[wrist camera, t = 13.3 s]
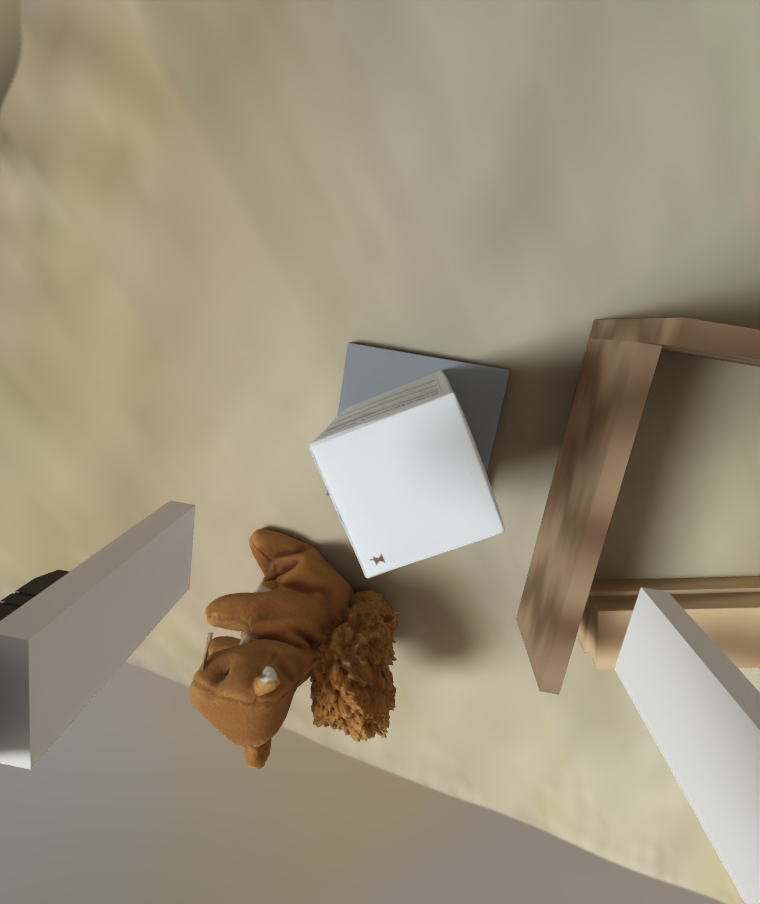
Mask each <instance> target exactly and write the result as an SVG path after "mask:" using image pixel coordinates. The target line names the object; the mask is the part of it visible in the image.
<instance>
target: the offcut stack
mask: <svg viewBox="0 0 760 904" xmlns="http://www.w3.org/2000/svg"><path fill="white" fill-rule="evenodd" d="M641 587H644V588H649V589H655V590H660V591H665V592H668V593H669V594H670V595H671V596H672V597H673V598H674V599H675V600H676V601H677V602H678V604H679V605H680V606H681V607H682V608H683V609H684V610H685V611H686V612H687V613H688V614H689V616H690V617H691V618H692V619H693V620H694V621H695V622H696V623H697V624H698V625H699V627H700V628H701V629H702V630H703V631H704V632H705V633H706V634H707V635H708V636H709V637H710V639H711V640H712V641H713V642H714V643H715V644H716V645H717V646H718V647H719V648H720V650H721V651H722V652H723V653H724V654H725V655H726V656H727V657H728V658H729V659H730V660H731V662H732V663H733V664H734V665H735V666H736V667H737V668H760V576H746V577H710V578H675V579H639V580H604V581H593V582H592V585H591V588H590V592H589V595H588V598H587V602H586V605H585V609H584V612H583V615H582V619H581V622H580V625H579V629H578V641H579V643H580V645H581V647H582V649H583V651H584V653H588V654H589V656H590V658H591V660H592V662H593V664H594V666H595V668H596V670H615V669H614V668H615V665H616V662H617V659H618V656H619V653H620V650H621V647H622V644H623V641H624V638H625V635H626V631H627V628H628V625H629V622H630V619H631V616H632V613H633V610H634V607H635V604H636V601H637V598H638V595H639V592H640V589H641Z"/></svg>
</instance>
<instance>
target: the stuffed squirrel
mask: <svg viewBox="0 0 760 904" xmlns="http://www.w3.org/2000/svg"><path fill="white" fill-rule="evenodd" d="M249 543H250V548H251V550H252V553H253V555H254V557H255V559H256V560H257V563H258V565H259V566H260V568H261V569H262V571H263V573H264V575H265V577H264V579H263V581H262V582H261V583H260V584H259V586H258V587H257V589H256V592H255V593H235V594H229V595H225V596H222V597H219V598H218V599H216V600H214V601H213V602H212V603H210V604H209V605H208V606H207V608H206V611H205V613H206V615H207V621H208V623H209V624H211V625H212V626H215V627H220V628H224V629H229V630H236V631H242V632H241V639H237V638H234V637H229V636H221V637H216V638H214V639H212V637H213V633H208V637H207V643H206V649H205V654H204V658H203V662H202V665H201V667H200V669H199V670H198V671H197V672H196V673H195V675H194V677H193V682H192V683H191V685H190V692H189V697H190V700H191V703H192V704H193V706H194V707H195V708H196V709H197V710H198V711H199V712H200V713H201V714H202V715H203V716H204V717H205V718H206V719H207V720H208V721H209V722H210V723H211V724H212V725H213V726H214V727H215V728H216V729H217V730H218V731H219V732H221V733H222V734H223V735H225V736H226V737H227V738H228V739H229V740H230V741H232V742H233V743H234V744H236V745H238V746H241V747H245V753H244V758H245V761H246V763H247V765H248V766H249V767H250V768H251V769H260V768H262V767H263V766H264V765H265V761H266V760H267V758H268V756H269V754H270V747H271V738H272V737H273V736H274V735H275V734H276V733H277V732H278V730H279V728H280V727H281V725H282V724H283V722H284V720H285V718H286V716H287V713H288V710H289V708H290V705H291V701H292V698H293V695H294V693H295V691H296V689H297V687H298V686H300V685H301V684H302V683H303V682H305V681H306V680H307V679H308V678H309V677H311V679H310V681H311V682H312V681H313V682H312V685H311V697H310V698H311V699H312V700H313V703H312V706H311V711H312V712H313V717H314V722H313V724H314V725H316V726H317V727H320V726H321V725H324V727H325V726H326V727H327V726H329V725H330V727H332V729H337V728H338V730H339V729H340V730H341V729H343V730H344V733H345V735H347V734H348V735H351V737H352V738H353V739H354V740H355V741H357V742H359V741H360V739H362V740H365V741H366V740H367V739H370V738H374V737H375V734H376V733H377V734H378V735H380V736H381V738H383V737H384V738H386V734H387V732H388V731H387V730H386V729H387V728H389V718H390V716H389V710H394V708H395V707H396V706H395V698H394V696H395V693H396V688H395V687H394V685H393V676H392V673H391V671H390V670H389V667H388V665H393V662H392V660H393V661H396V658H395V657H394V656H393V655H394V654H395V653H394V651H393V646H392V642H393V643H395V640H394V639H393V636H392V634H393V631H394V630H395V629H397V628H398V627H399V626H397V623H398V621H397V620H396V619H397V618H398V615H397V614H398V613H399V612H398V611H397V612H395V611H393V610H392V609H391V608H390V607H389V604H387V602H386V601H385V600H384V599H383V598H382V594H378V593H375V592H374V591H372V590H370V591H368V590H367V591H361V592H357V593H354V592H353V590H352V588H351V586H350V584H349V583H348V582H347V581H346V580H345V579H344V578H343V577H342V576H341V575H340V574H339V573H338V572H337V571H336V570H335V569H334V568H333V567H332V566H331V565H330V564H329V563H328V562H327V561H326V560H325V559H324V558H323V556H322V555H321V554H320V553H319V552H318V551H317V550H316V549H315V548H314V547H312V546H311V545H309V544H306V543H305V542H302V541H300V540H298V539H295V538H293V537H291V536H288V535H285V534H282V533H279V532H276V531H269V530H266V529H258V530H256V531H255V532H254V533H253V534H252V536H251V537H250V539H249Z"/></svg>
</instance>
